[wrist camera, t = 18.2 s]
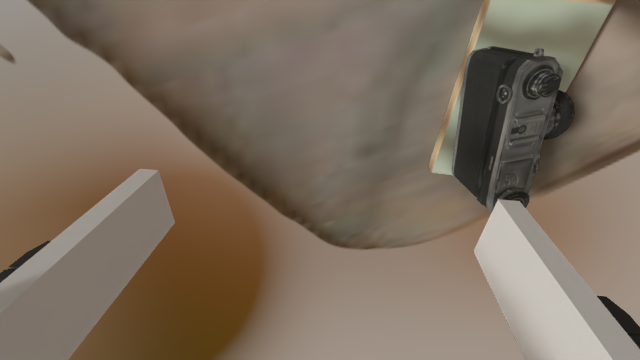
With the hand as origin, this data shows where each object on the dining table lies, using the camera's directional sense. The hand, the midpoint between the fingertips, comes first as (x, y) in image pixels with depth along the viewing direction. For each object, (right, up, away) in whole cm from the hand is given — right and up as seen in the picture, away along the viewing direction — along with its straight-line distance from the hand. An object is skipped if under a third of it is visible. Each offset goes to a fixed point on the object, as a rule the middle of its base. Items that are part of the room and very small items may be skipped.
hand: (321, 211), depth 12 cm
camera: (+22, +9, +24) cm, 33 cm away
